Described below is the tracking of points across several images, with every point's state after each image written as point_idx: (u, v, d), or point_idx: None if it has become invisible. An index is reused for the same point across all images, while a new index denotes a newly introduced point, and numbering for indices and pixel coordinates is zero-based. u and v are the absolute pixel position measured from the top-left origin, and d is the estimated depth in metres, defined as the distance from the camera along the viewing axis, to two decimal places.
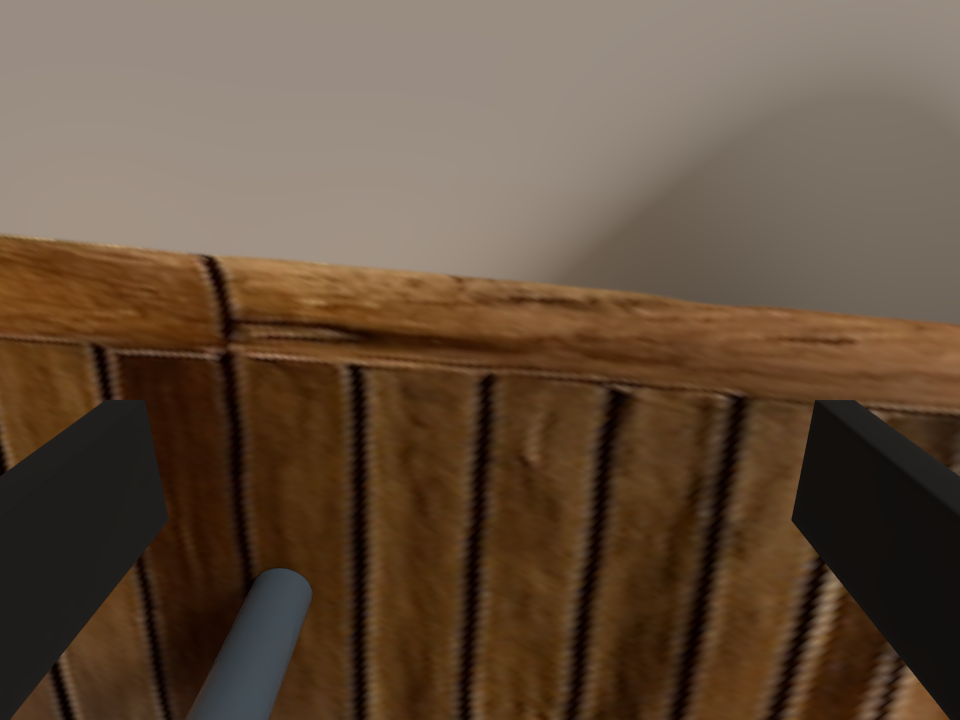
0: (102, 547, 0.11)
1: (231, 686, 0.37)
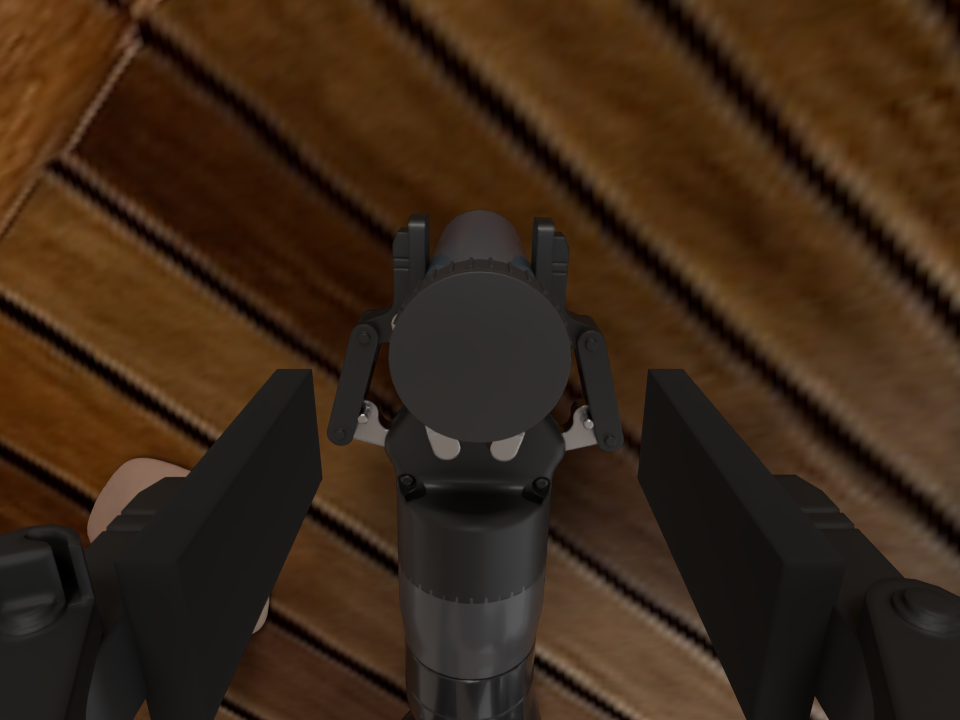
0: (293, 494, 0.12)
1: (438, 261, 0.23)
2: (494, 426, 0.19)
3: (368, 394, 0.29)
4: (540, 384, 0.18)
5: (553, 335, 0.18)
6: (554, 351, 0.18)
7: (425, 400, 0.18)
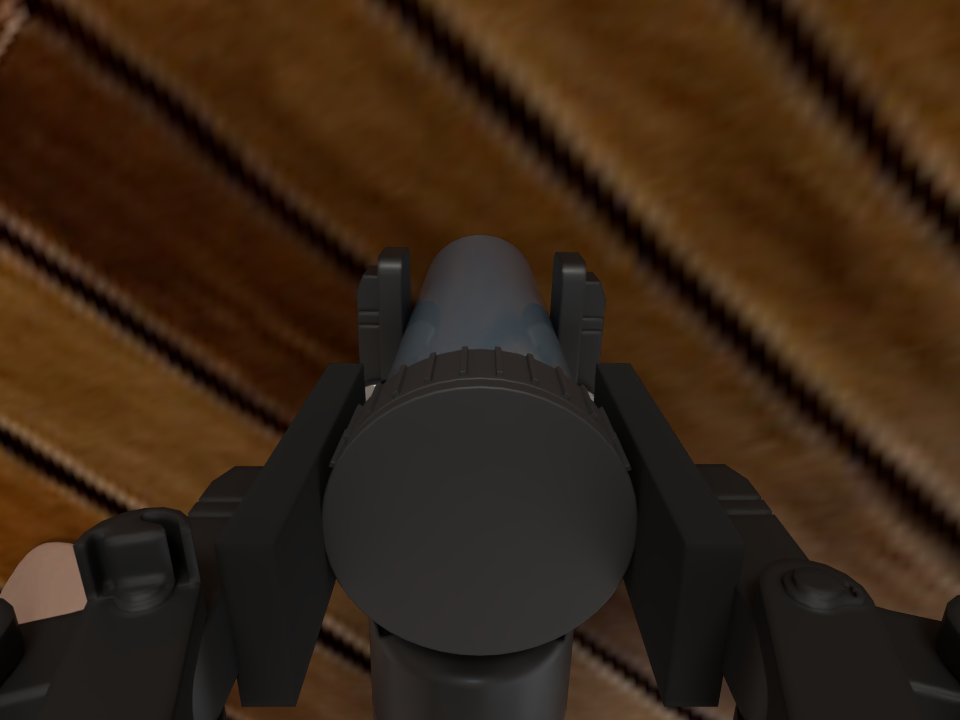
0: None
1: (417, 328, 0.15)
2: (504, 631, 0.11)
3: None
4: (583, 568, 0.11)
5: (608, 491, 0.10)
6: (609, 517, 0.10)
7: (386, 592, 0.11)
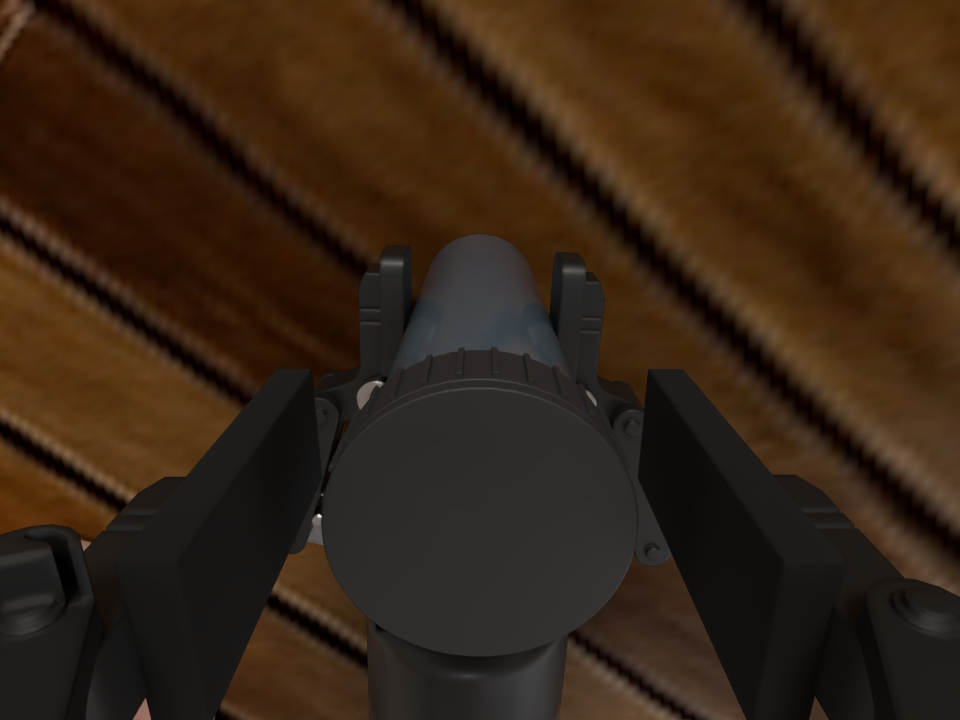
0: (293, 494, 0.12)
1: (418, 325, 0.15)
2: (601, 560, 0.11)
3: None
4: (569, 466, 0.10)
5: (494, 411, 0.10)
6: (523, 422, 0.10)
7: (501, 629, 0.11)
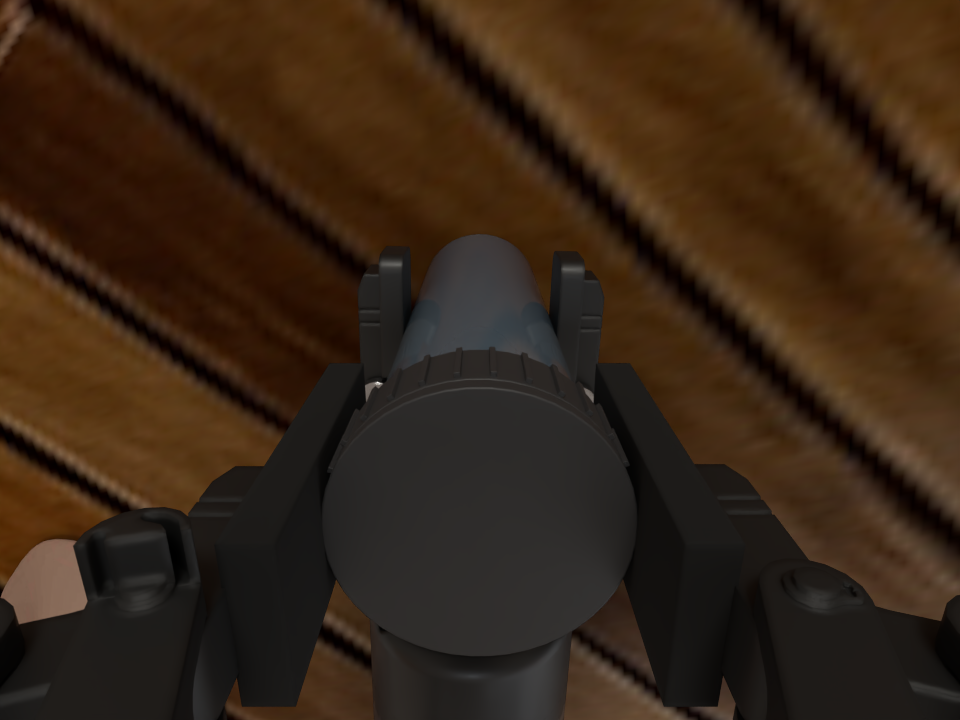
0: None
1: (417, 326, 0.15)
2: (601, 559, 0.11)
3: None
4: (568, 465, 0.10)
5: (492, 411, 0.10)
6: (521, 421, 0.10)
7: (502, 628, 0.11)
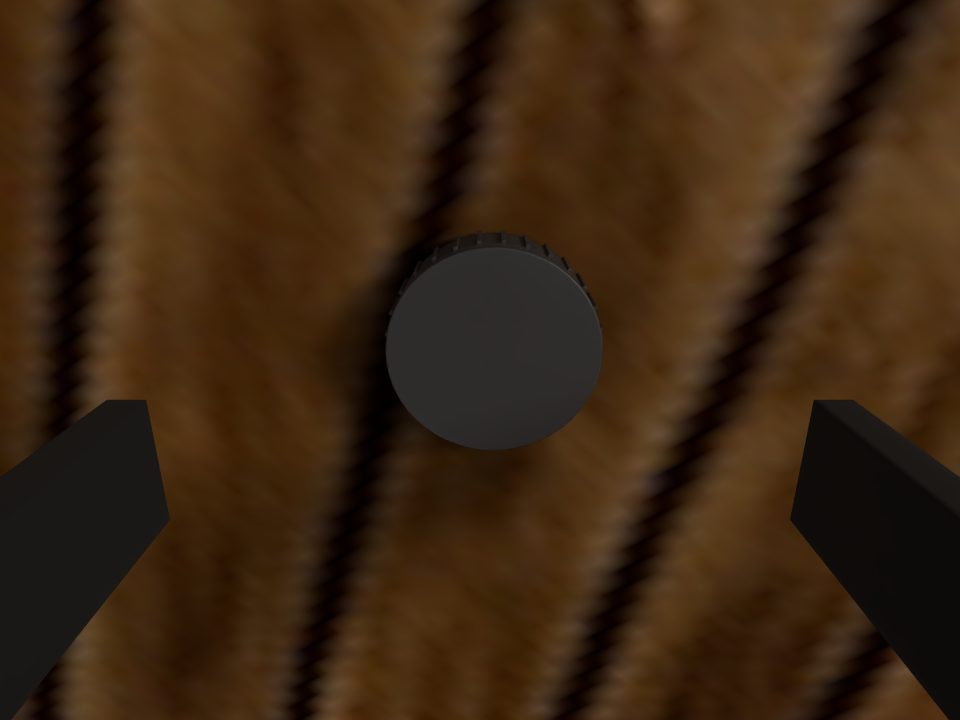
0: (104, 547, 0.11)
1: None
2: (577, 375, 0.15)
3: None
4: (554, 304, 0.15)
5: (503, 265, 0.14)
6: (522, 272, 0.14)
7: (509, 428, 0.16)
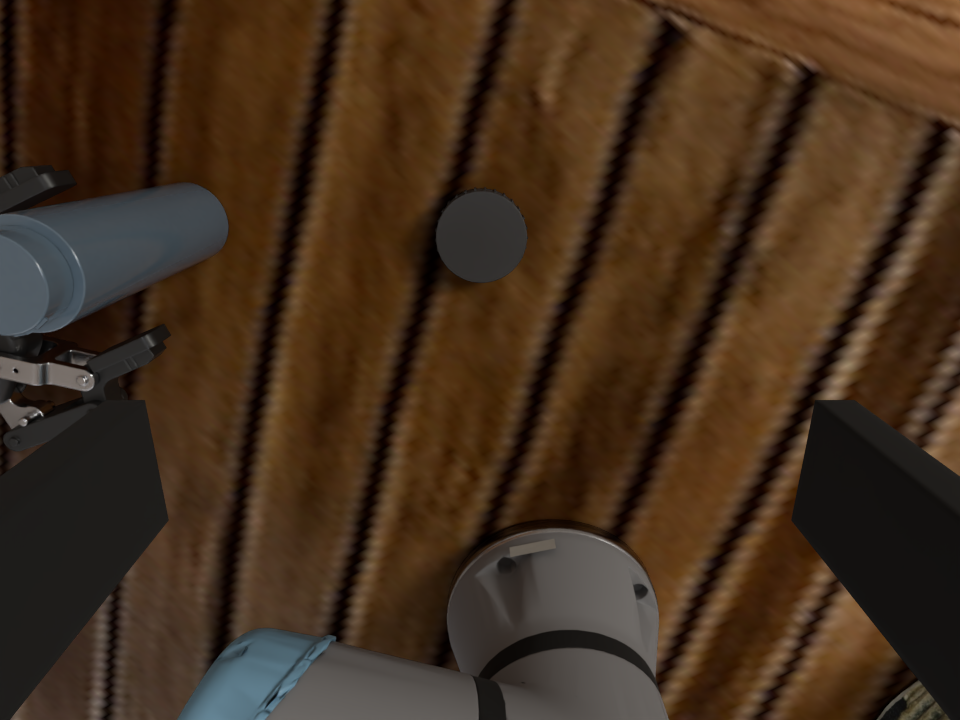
0: (102, 547, 0.11)
1: (93, 206, 0.27)
2: (516, 246, 0.36)
3: None
4: (506, 215, 0.36)
5: (484, 198, 0.35)
6: (492, 201, 0.35)
7: (488, 271, 0.37)
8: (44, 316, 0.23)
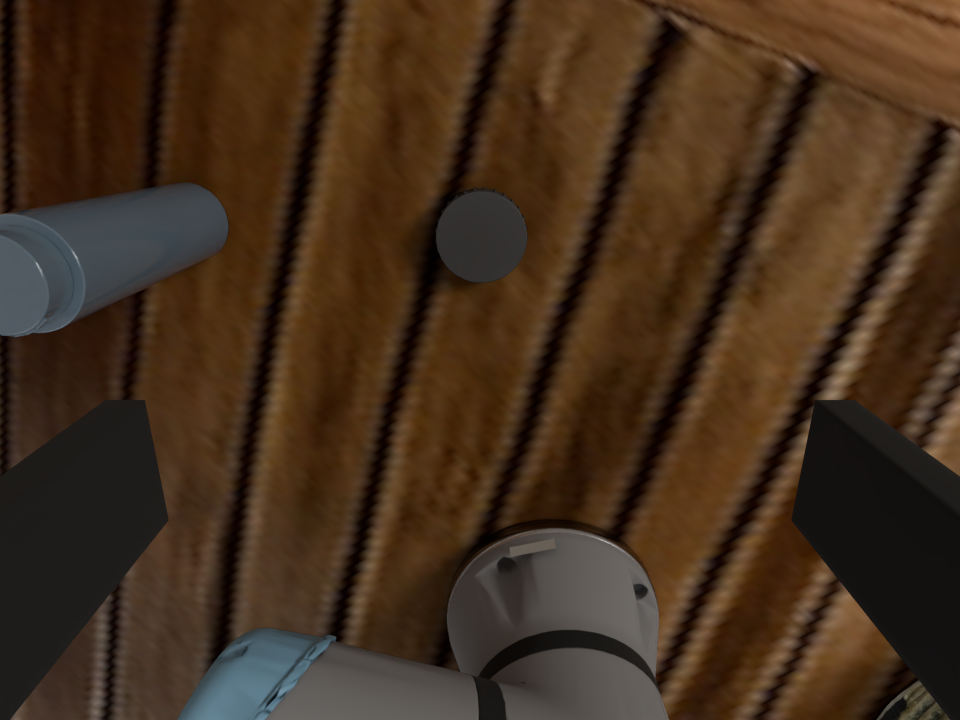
0: (102, 547, 0.11)
1: (93, 206, 0.27)
2: (516, 246, 0.36)
3: None
4: (506, 215, 0.36)
5: (484, 198, 0.35)
6: (492, 201, 0.35)
7: (488, 271, 0.37)
8: (44, 316, 0.23)
